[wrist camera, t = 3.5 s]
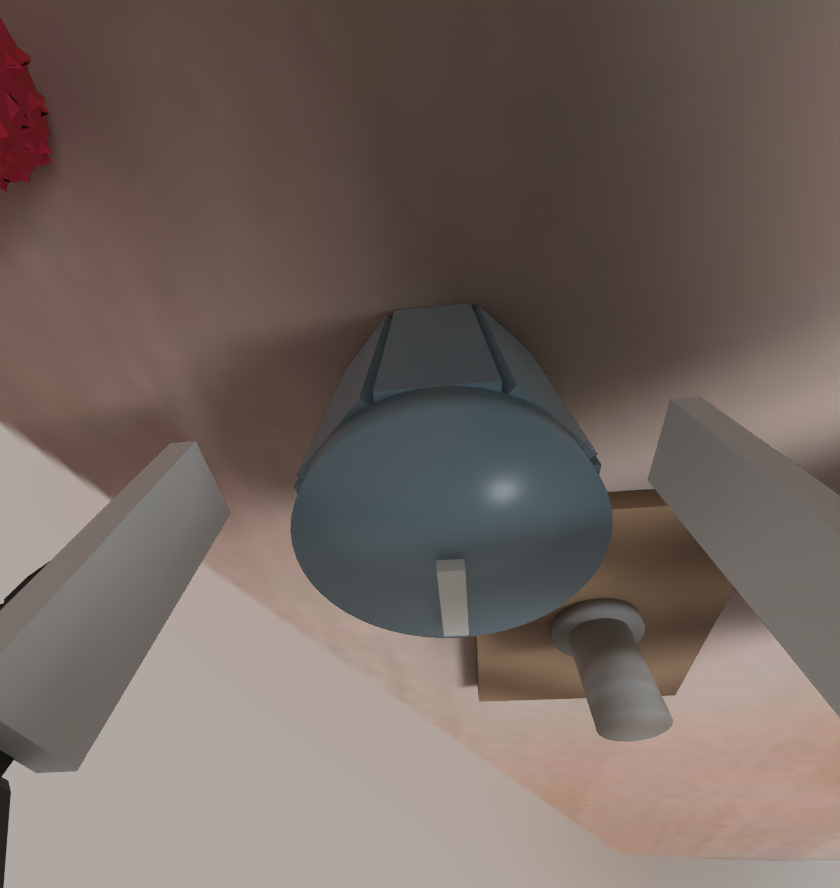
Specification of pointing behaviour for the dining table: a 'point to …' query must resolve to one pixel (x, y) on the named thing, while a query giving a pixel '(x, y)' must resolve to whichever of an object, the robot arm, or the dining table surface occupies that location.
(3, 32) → the strawberry
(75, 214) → the dining table surface
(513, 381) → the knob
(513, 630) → the stud board
